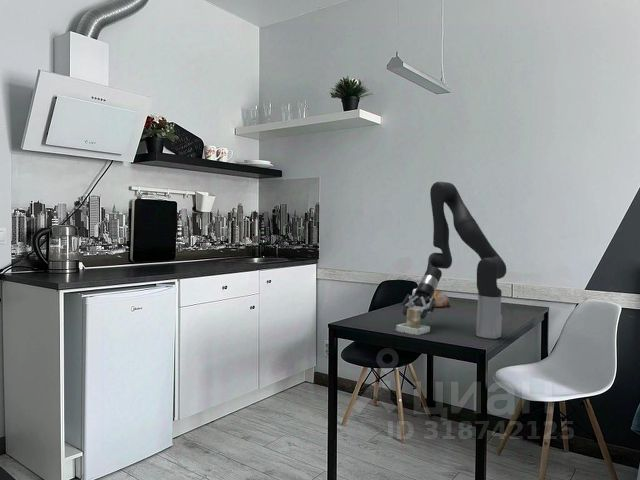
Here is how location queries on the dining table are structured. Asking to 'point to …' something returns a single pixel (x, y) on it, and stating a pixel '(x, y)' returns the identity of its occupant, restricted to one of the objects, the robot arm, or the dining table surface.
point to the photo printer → (419, 306)
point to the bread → (441, 299)
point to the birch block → (413, 318)
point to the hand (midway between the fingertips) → (412, 316)
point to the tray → (413, 329)
